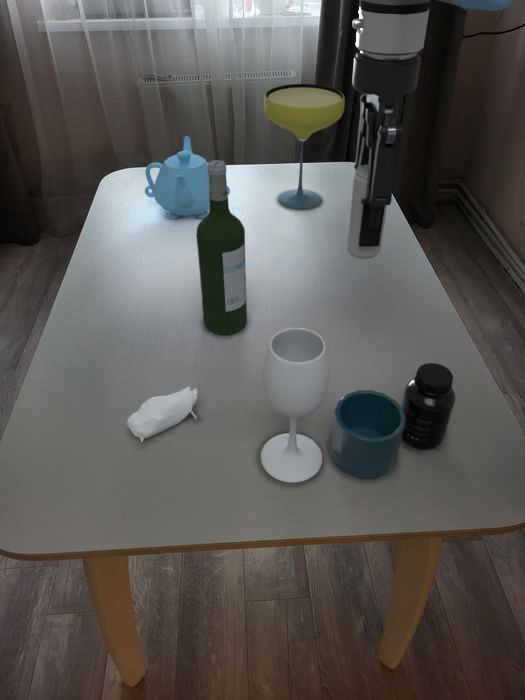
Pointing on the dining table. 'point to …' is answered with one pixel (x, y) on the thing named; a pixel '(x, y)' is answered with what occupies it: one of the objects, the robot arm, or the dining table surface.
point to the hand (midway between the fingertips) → (365, 235)
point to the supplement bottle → (428, 406)
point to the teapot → (181, 184)
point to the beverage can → (360, 216)
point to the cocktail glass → (303, 124)
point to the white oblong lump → (162, 413)
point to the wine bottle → (222, 259)
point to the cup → (366, 433)
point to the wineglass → (294, 400)
